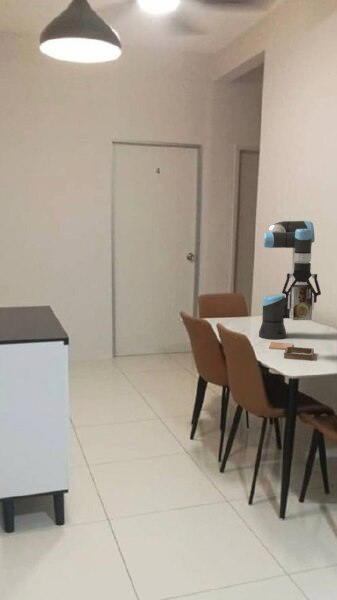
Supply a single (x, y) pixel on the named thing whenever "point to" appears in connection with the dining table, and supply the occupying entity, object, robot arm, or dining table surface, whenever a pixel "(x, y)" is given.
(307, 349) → the tray
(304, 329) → the dining table surface
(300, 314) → the coffee box
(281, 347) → the terracotta tile
